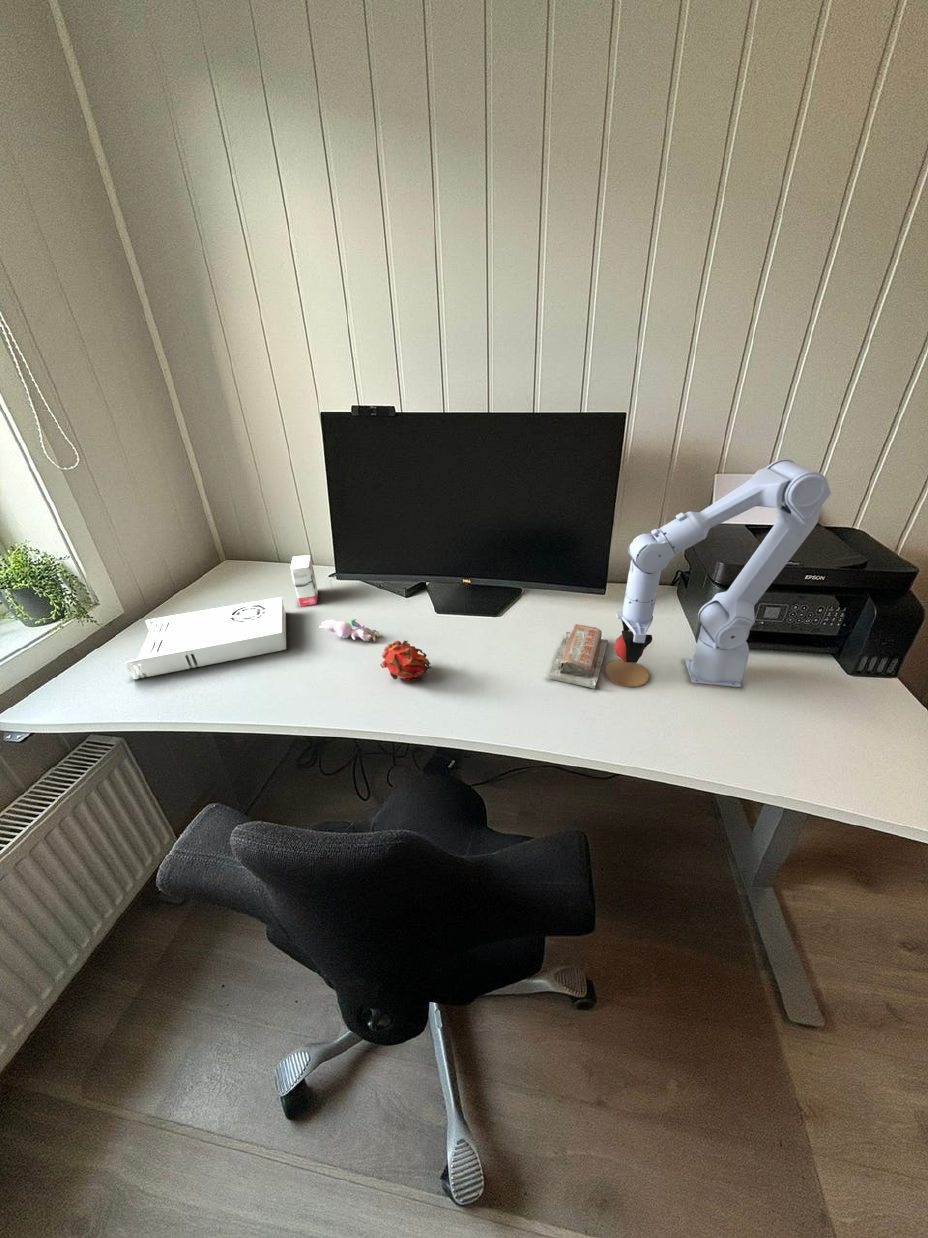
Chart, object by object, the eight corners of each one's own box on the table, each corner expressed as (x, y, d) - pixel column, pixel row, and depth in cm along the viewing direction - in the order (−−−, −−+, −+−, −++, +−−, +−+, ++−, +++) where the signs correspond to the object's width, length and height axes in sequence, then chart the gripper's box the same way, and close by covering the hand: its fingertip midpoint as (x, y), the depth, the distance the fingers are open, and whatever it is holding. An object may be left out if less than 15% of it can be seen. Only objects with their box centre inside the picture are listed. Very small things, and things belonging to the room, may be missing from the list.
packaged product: (567, 619, 114) (610, 627, 111) (565, 636, 117) (607, 644, 114) (549, 661, 100) (597, 671, 97) (547, 680, 103) (595, 690, 99)
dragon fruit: (384, 670, 110) (429, 689, 107) (366, 671, 102) (415, 691, 98) (396, 635, 110) (442, 653, 106) (379, 633, 102) (429, 652, 98)
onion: (635, 653, 104) (641, 622, 100) (644, 669, 99) (651, 636, 95) (609, 654, 104) (613, 623, 100) (617, 670, 99) (622, 637, 95)
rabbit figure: (381, 637, 122) (326, 624, 123) (382, 617, 119) (325, 604, 120) (372, 651, 117) (314, 637, 118) (372, 631, 113) (313, 617, 115)
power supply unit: (152, 636, 123) (144, 620, 120) (285, 612, 131) (281, 596, 129) (133, 680, 108) (124, 662, 105) (286, 649, 116) (281, 632, 113)
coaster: (646, 663, 107) (646, 662, 106) (650, 689, 99) (651, 688, 99) (604, 659, 108) (604, 658, 108) (605, 684, 101) (605, 683, 101)
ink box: (317, 604, 135) (309, 566, 129) (299, 606, 134) (289, 568, 128) (318, 590, 142) (310, 553, 136) (301, 593, 141) (292, 556, 135)
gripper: (617, 577, 100) (609, 632, 108) (621, 612, 88) (612, 671, 95) (652, 579, 99) (642, 634, 106) (662, 615, 87) (649, 675, 94)
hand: (630, 652), depth 101 cm, fingers closed on onion, 6 cm apart
